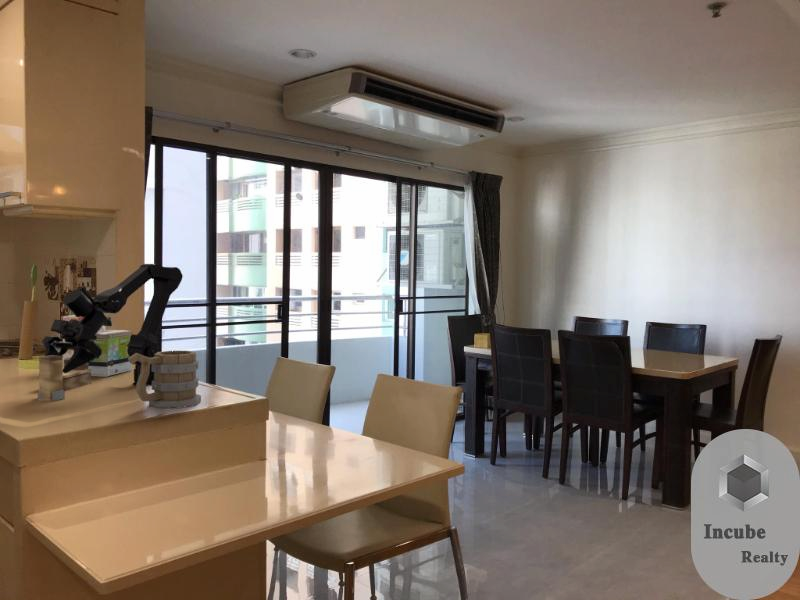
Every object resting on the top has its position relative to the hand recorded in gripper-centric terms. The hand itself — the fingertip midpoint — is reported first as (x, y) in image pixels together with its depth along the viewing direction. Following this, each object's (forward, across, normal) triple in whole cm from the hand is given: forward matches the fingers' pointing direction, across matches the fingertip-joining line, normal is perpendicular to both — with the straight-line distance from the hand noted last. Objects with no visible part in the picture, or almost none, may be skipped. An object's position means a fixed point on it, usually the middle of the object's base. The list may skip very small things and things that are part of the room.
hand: (52, 370), depth 177 cm
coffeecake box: (-25, -44, +37) cm, 63 cm away
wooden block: (+6, 0, +5) cm, 8 cm away
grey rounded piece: (+6, 0, +6) cm, 8 cm away
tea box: (-23, -27, +35) cm, 50 cm away
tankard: (-2, +29, +14) cm, 33 cm away
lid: (-7, -13, +12) cm, 19 cm away
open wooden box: (-4, -13, +16) cm, 20 cm away
